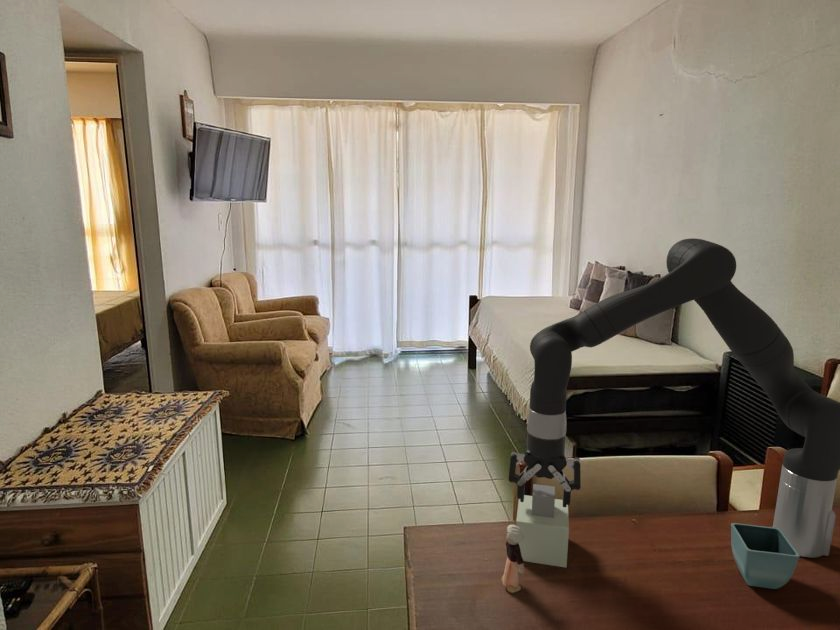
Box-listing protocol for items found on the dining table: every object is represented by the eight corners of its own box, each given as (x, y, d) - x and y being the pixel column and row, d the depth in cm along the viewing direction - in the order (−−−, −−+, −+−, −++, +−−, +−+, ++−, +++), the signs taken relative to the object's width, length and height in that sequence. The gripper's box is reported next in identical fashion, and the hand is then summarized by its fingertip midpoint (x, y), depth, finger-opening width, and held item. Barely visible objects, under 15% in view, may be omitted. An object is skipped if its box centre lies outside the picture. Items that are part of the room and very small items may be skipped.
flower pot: (794, 599, 98) (801, 556, 96) (741, 592, 99) (747, 550, 98) (773, 567, 106) (779, 527, 104) (724, 562, 108) (730, 522, 106)
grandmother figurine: (492, 576, 104) (494, 517, 101) (509, 570, 105) (511, 513, 103) (514, 602, 97) (517, 541, 94) (532, 596, 99) (535, 535, 96)
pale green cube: (565, 536, 116) (568, 481, 113) (566, 567, 106) (570, 507, 103) (517, 530, 118) (520, 475, 116) (514, 559, 109) (517, 500, 106)
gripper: (582, 425, 109) (578, 497, 112) (512, 419, 112) (509, 489, 115) (584, 441, 102) (579, 517, 105) (509, 434, 105) (506, 508, 108)
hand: (543, 502), depth 110 cm, fingers open, 8 cm apart
